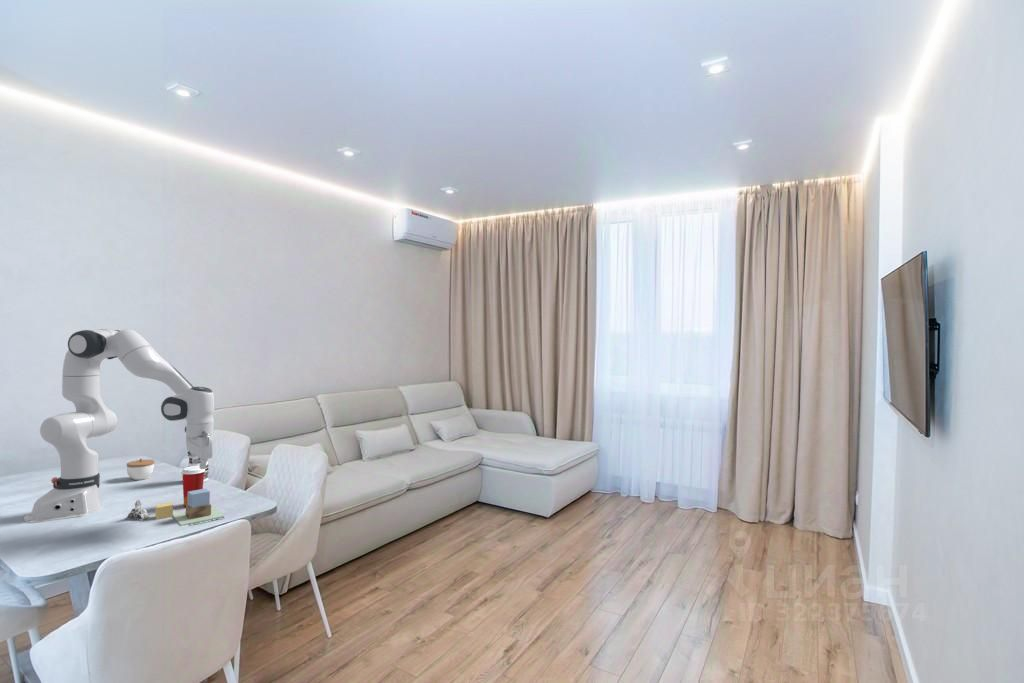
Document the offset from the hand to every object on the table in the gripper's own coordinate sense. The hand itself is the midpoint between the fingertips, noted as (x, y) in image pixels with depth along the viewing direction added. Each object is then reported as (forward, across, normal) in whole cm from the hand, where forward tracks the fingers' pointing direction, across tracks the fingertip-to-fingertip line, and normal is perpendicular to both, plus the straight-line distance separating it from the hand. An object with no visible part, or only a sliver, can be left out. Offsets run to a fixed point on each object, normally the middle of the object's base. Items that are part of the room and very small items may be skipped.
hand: (199, 466), depth 191 cm
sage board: (+20, 0, 0) cm, 20 cm away
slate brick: (+15, 0, 0) cm, 15 cm away
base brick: (+19, 0, 0) cm, 19 cm away
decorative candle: (+20, +55, -14) cm, 60 cm away
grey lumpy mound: (+20, +13, +14) cm, 28 cm away
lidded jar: (+21, +76, +4) cm, 79 cm away
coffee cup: (+20, +18, -3) cm, 27 cm away
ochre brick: (+20, +8, +9) cm, 23 cm away
